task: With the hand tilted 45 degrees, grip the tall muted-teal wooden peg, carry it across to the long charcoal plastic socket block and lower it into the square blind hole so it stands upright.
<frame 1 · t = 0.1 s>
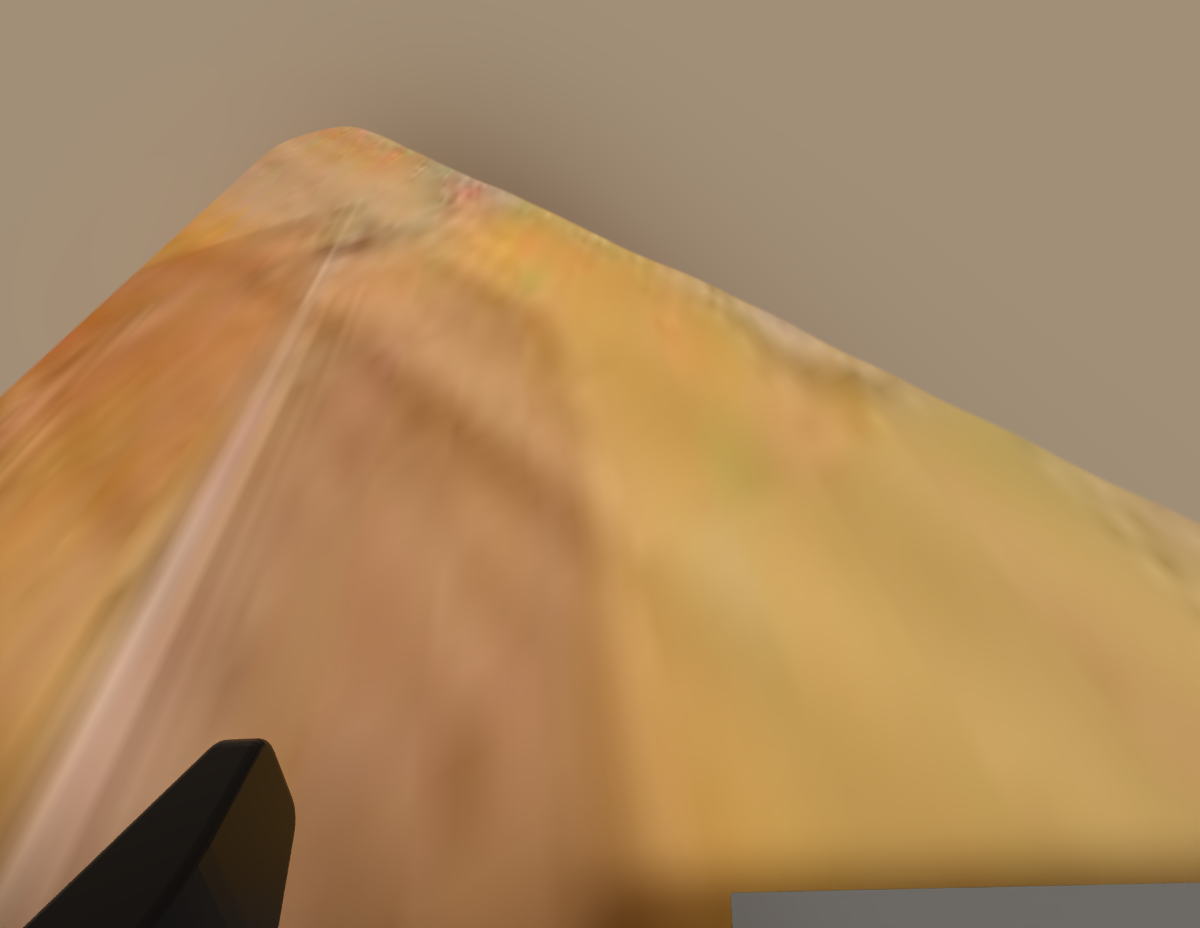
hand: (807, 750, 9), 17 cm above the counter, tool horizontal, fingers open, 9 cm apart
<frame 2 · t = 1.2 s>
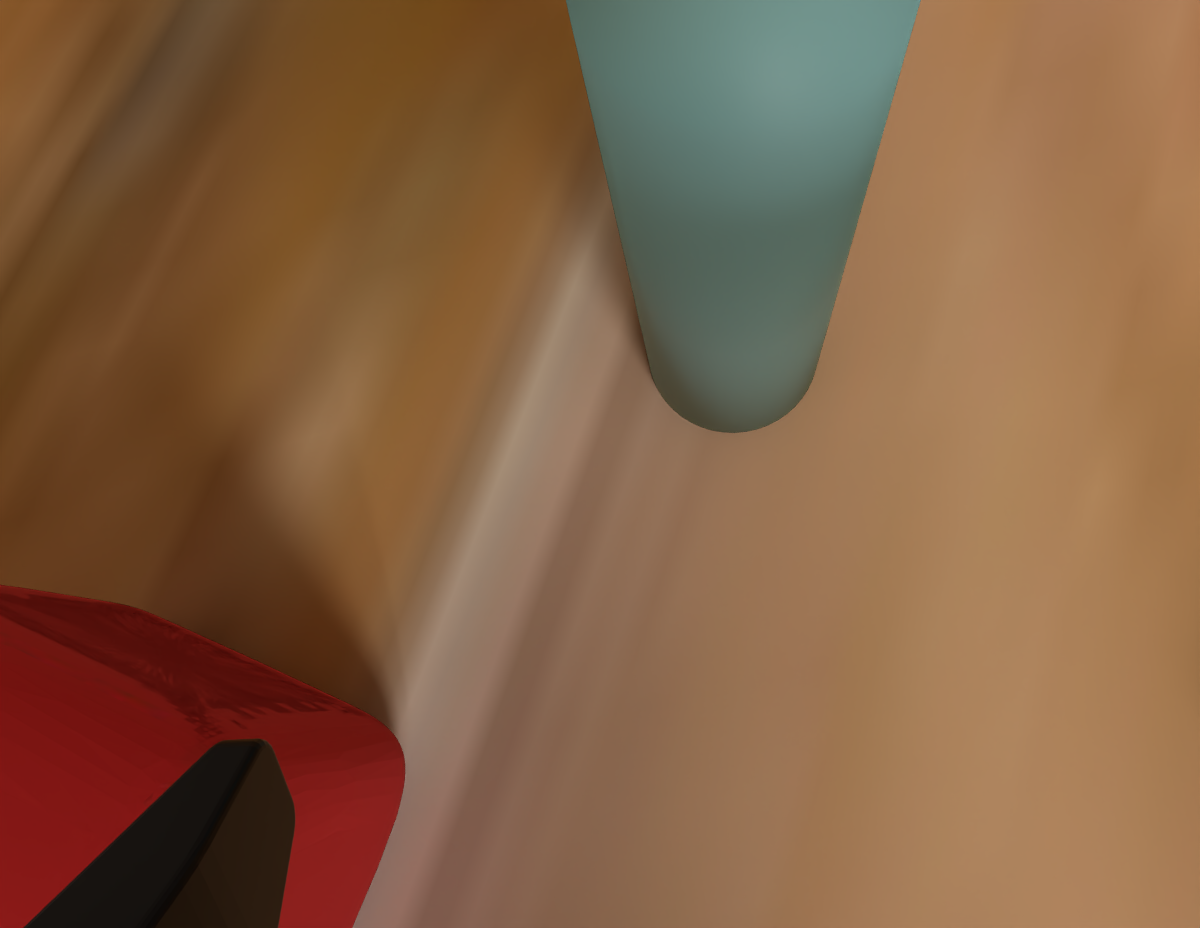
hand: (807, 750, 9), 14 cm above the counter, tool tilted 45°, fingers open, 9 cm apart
peg: (732, 350, 24), on the counter
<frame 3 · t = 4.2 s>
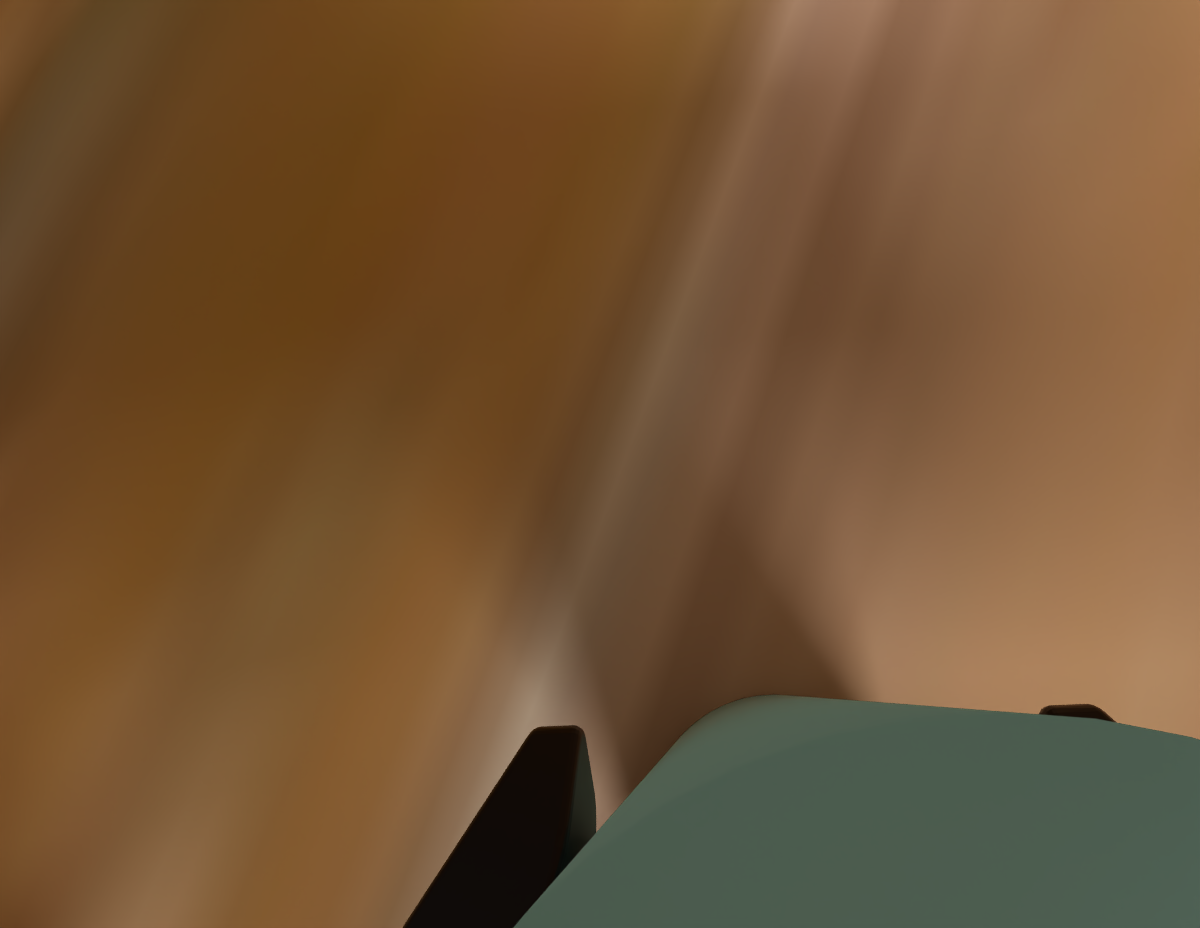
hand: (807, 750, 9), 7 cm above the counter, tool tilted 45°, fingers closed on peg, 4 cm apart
peg: (778, 829, 15), on the counter, touching gripper
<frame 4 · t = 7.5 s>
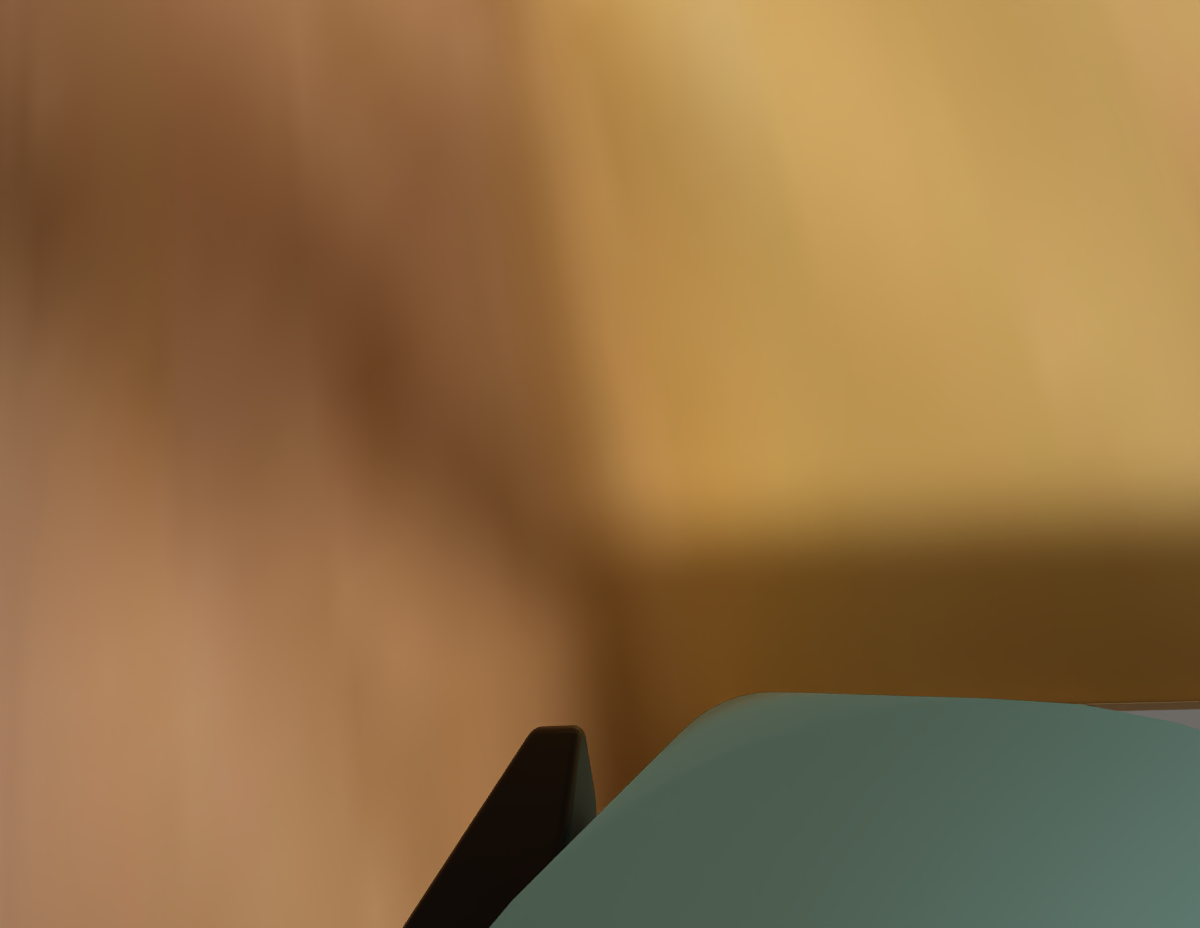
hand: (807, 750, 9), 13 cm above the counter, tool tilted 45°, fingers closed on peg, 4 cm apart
peg: (777, 826, 15), point 7 cm above the counter, touching gripper
when the fingers open (9 cm above the counter, at t = 10.9 s): peg drops 2 cm, resting on socket block.
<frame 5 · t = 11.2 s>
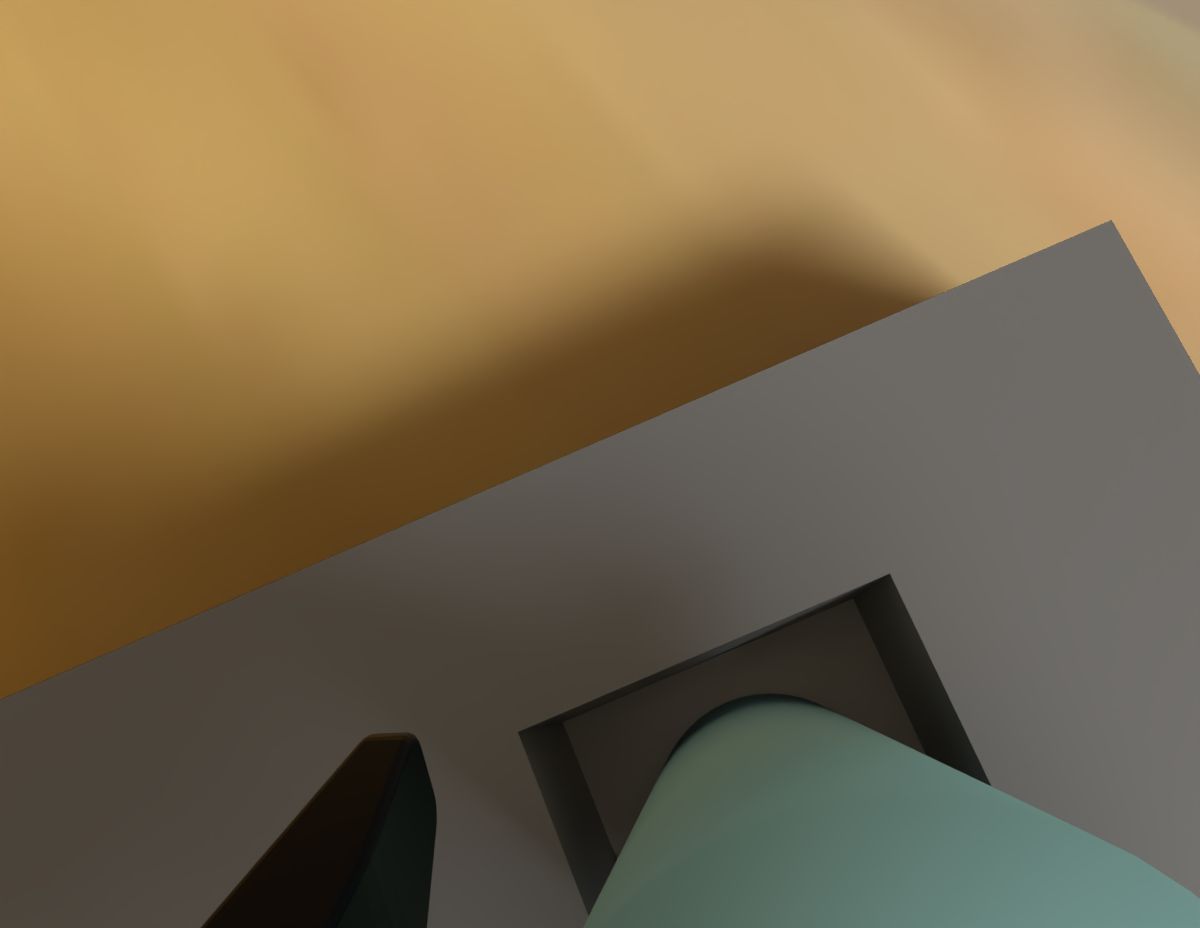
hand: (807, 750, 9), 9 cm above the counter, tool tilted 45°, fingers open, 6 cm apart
peg: (773, 813, 17), point 1 cm above the counter, touching socket block
socket block: (585, 852, 18), on the counter
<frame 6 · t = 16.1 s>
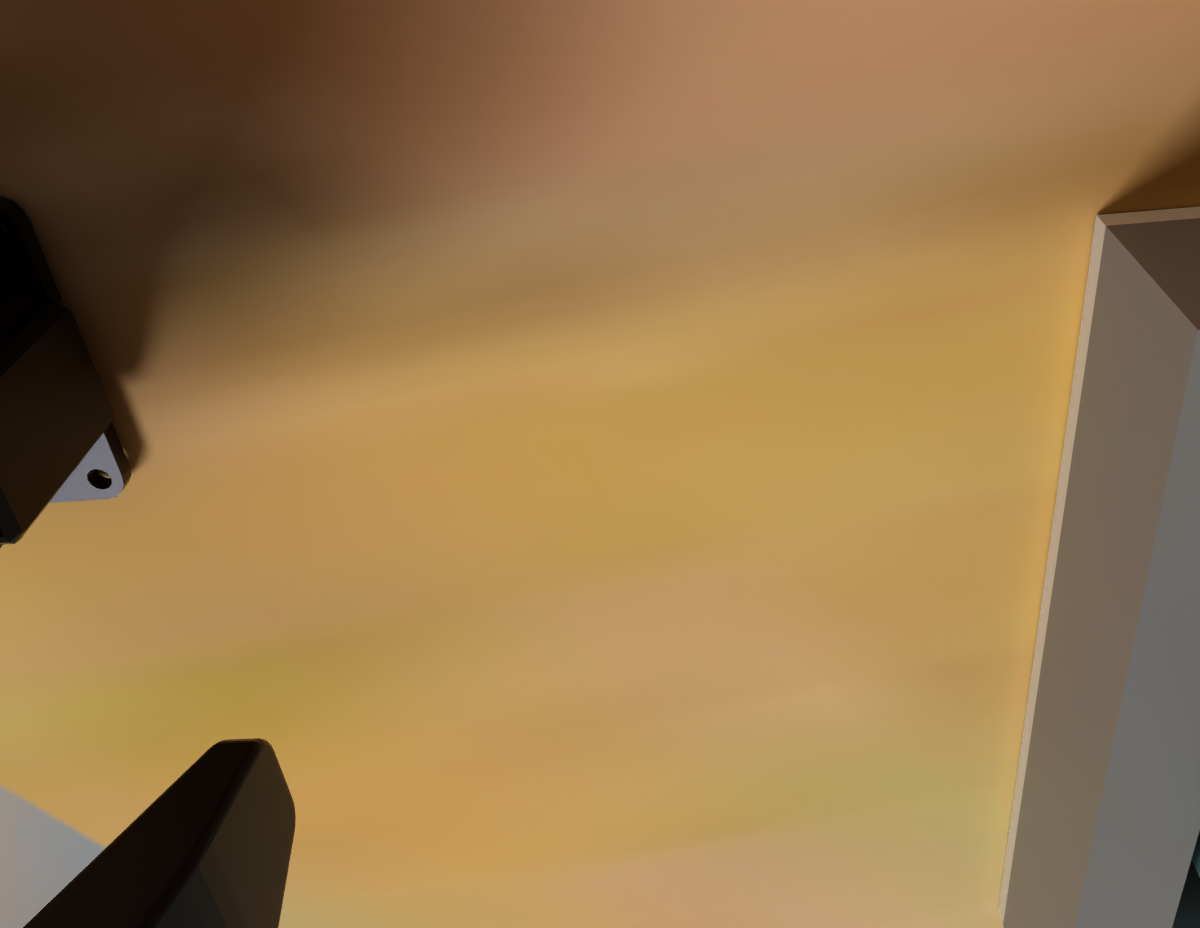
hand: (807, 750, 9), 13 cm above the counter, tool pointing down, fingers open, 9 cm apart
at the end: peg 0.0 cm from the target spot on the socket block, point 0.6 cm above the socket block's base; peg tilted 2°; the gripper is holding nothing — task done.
